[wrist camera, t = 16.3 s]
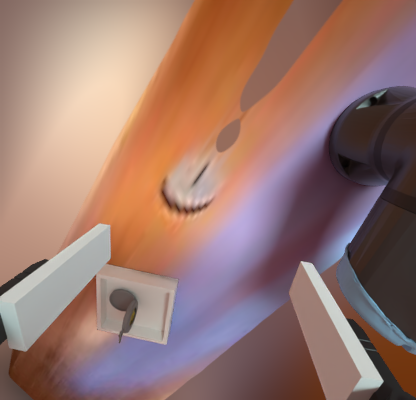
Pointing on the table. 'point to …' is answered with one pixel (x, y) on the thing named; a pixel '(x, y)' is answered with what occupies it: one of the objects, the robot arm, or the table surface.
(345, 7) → the table surface
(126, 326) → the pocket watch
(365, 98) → the robot arm
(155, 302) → the tray
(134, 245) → the table surface
